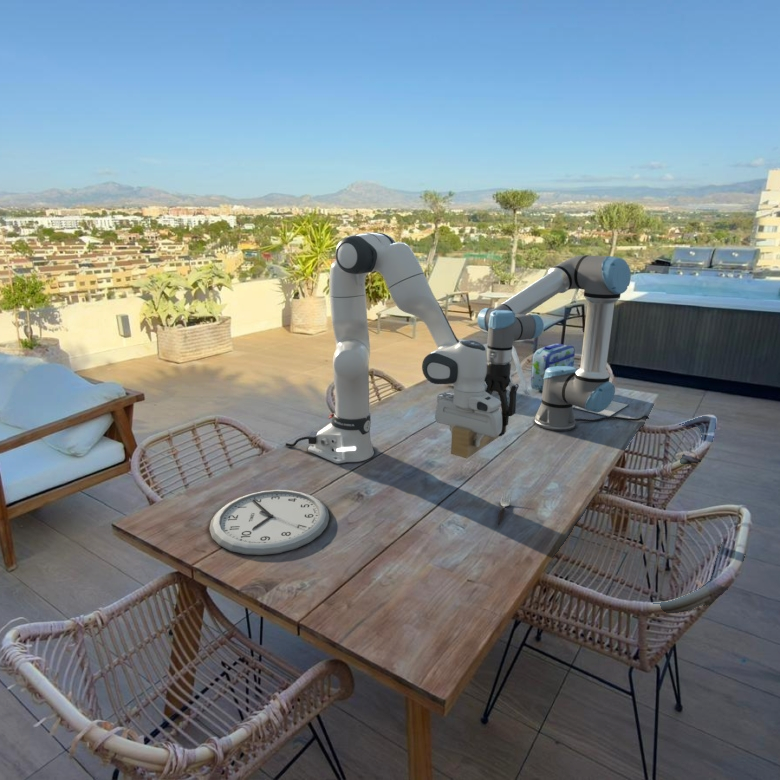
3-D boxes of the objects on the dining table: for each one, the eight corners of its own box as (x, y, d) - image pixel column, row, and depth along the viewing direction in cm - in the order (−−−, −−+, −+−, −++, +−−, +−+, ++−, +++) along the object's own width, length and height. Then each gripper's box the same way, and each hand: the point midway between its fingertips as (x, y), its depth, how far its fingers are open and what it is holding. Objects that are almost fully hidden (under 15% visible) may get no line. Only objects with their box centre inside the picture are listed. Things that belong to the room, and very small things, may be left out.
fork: (492, 526, 134) (493, 519, 133) (502, 497, 148) (502, 491, 148) (503, 528, 133) (503, 521, 132) (511, 499, 147) (512, 492, 147)
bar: (491, 428, 171) (492, 405, 169) (506, 432, 168) (508, 408, 166) (450, 453, 151) (452, 427, 149) (466, 458, 148) (468, 432, 146)
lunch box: (547, 395, 239) (552, 351, 233) (526, 390, 247) (530, 347, 240) (574, 384, 257) (579, 343, 251) (554, 380, 264) (558, 339, 258)
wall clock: (327, 546, 121) (194, 551, 119) (327, 552, 122) (195, 557, 119) (330, 485, 150) (223, 488, 147) (330, 490, 150) (224, 493, 148)
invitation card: (608, 416, 214) (573, 407, 224) (608, 416, 214) (573, 408, 224) (628, 404, 229) (594, 396, 238) (628, 405, 229) (594, 397, 238)
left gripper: (431, 393, 151) (430, 437, 156) (496, 408, 140) (492, 455, 144) (443, 388, 156) (441, 431, 160) (506, 402, 145) (502, 448, 149)
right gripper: (466, 359, 162) (461, 429, 169) (521, 369, 151) (514, 443, 158) (477, 354, 167) (472, 422, 174) (532, 364, 157) (524, 435, 164)
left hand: (466, 443), depth 152 cm, fingers closed on bar, 5 cm apart
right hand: (492, 432), depth 166 cm, fingers closed on bar, 5 cm apart
